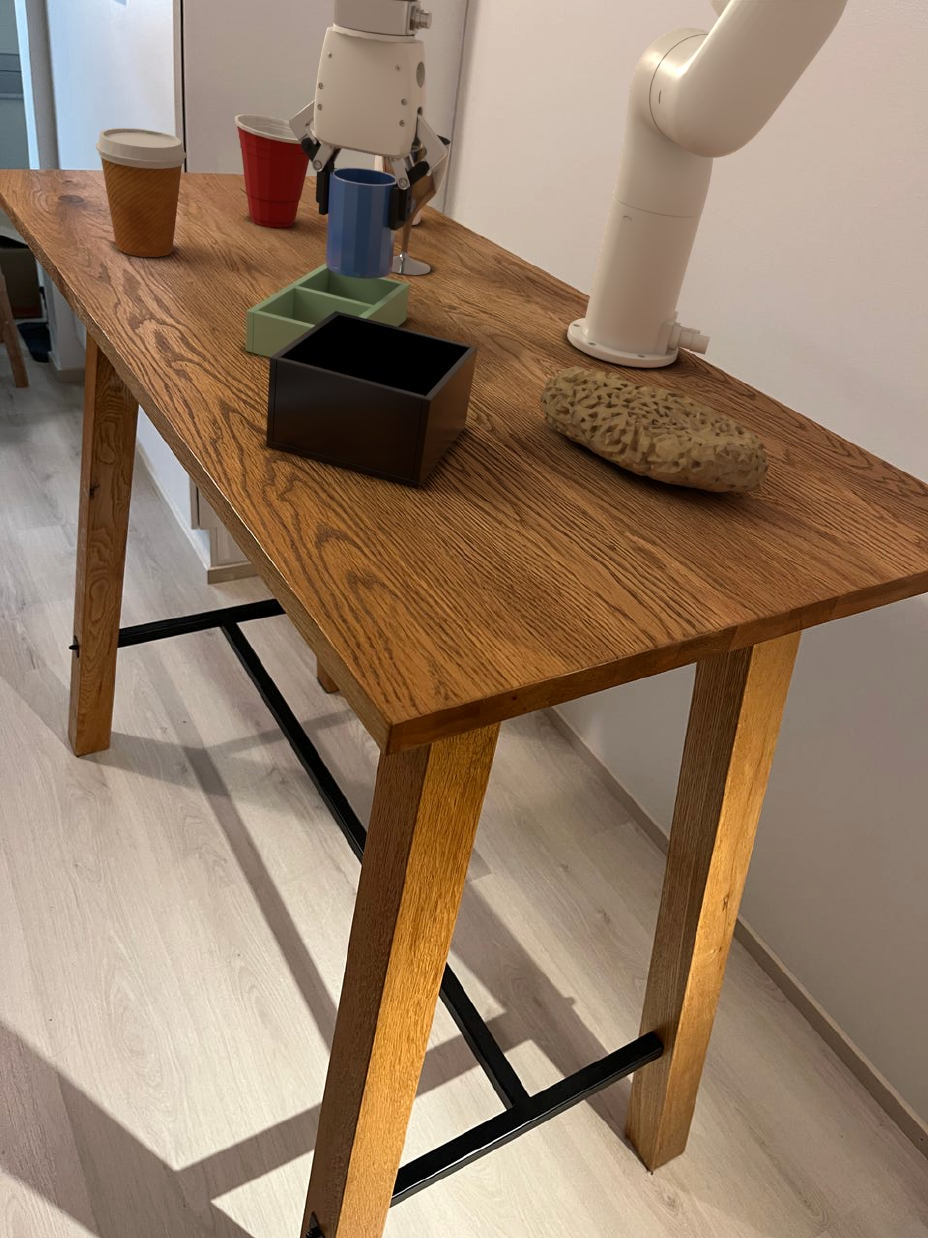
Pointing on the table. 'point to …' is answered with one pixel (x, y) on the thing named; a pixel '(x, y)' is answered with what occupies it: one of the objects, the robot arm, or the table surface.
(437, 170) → the wine glass
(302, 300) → the green divided tray
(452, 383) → the open box
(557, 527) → the table surface
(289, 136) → the plastic cup
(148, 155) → the disposable coffee cup
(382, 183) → the blue cup
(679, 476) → the sponge
